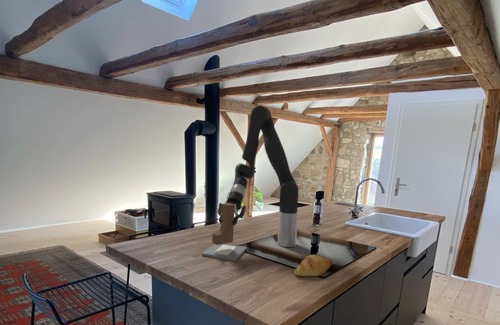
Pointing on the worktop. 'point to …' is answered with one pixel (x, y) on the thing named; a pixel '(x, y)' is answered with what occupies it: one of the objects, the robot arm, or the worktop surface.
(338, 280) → the worktop surface
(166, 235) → the worktop surface
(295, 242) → the robot arm
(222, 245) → the socket board
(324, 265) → the croissant
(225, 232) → the wooden block
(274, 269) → the worktop surface
